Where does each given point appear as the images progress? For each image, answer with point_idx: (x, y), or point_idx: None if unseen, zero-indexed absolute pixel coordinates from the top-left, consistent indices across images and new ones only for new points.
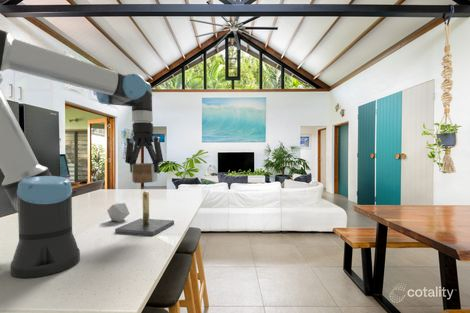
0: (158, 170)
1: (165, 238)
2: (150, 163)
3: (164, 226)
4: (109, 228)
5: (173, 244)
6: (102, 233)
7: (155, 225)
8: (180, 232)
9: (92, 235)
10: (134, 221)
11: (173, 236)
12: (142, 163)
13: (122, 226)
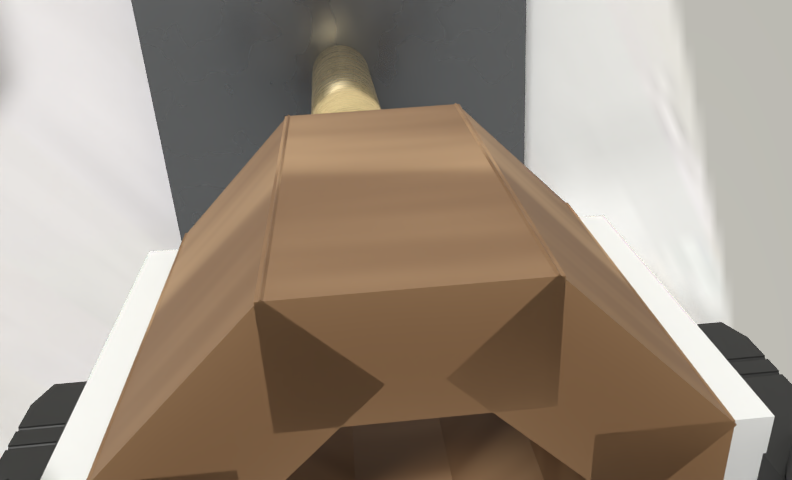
0: (750, 352)
1: (627, 234)
2: (584, 468)
3: (523, 55)
4: (31, 169)
5: (720, 306)
6: (110, 284)
7: (446, 80)
8: (680, 85)
9: (86, 337)
10: (151, 16)
11: (663, 183)
12: (257, 460)
13: (187, 193)
